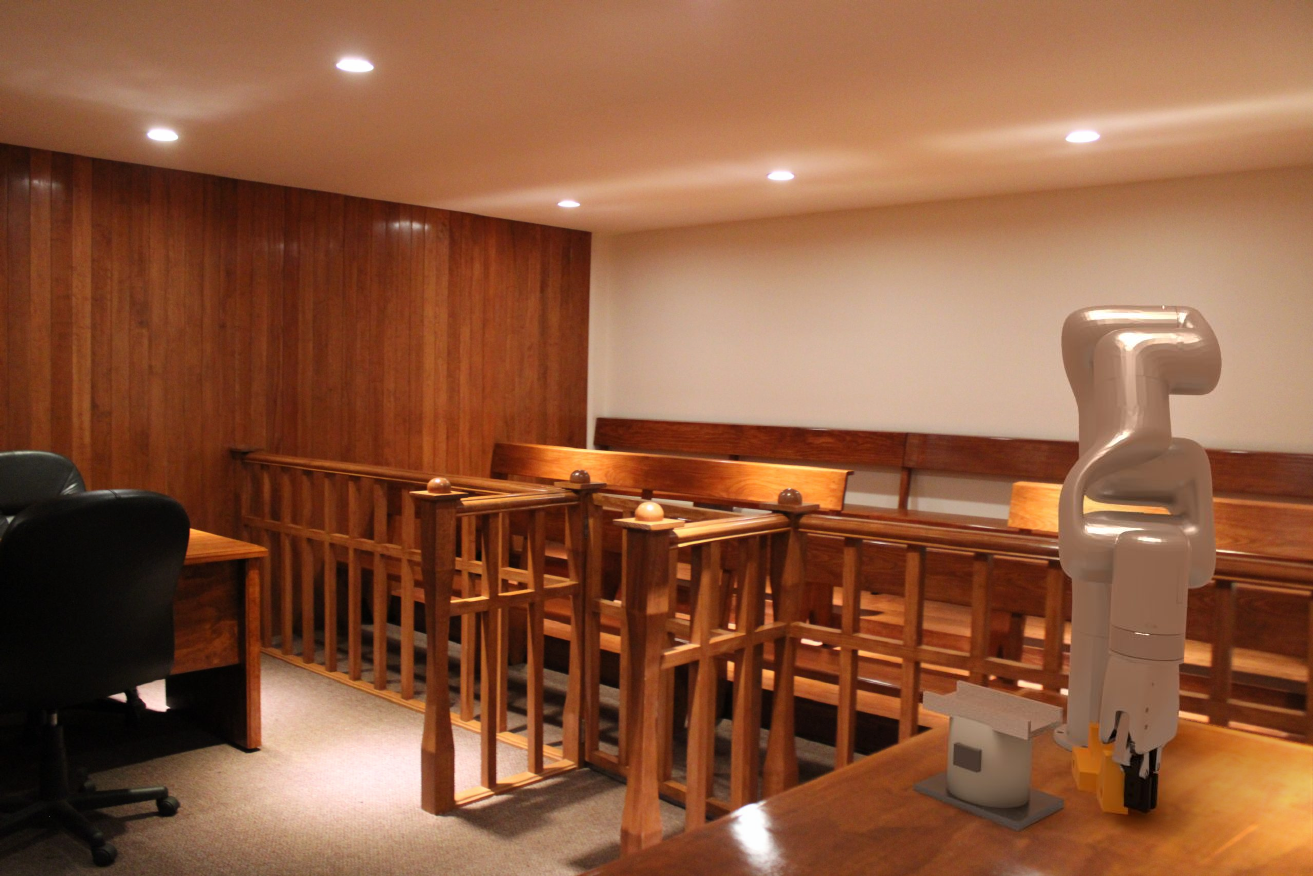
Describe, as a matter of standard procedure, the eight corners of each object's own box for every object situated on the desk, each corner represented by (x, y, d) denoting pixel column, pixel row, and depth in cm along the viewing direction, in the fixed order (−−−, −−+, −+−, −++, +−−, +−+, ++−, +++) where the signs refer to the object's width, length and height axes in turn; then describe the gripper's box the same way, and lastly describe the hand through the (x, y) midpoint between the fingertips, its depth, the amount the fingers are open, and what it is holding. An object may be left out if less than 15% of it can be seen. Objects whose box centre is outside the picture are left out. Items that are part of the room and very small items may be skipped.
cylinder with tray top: (961, 772, 124) (965, 678, 123) (1063, 807, 114) (1068, 706, 113) (913, 792, 117) (917, 693, 116) (1017, 831, 107) (1022, 723, 107)
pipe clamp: (1071, 772, 125) (1073, 720, 125) (1109, 776, 124) (1111, 724, 124) (1085, 810, 114) (1088, 754, 113) (1127, 815, 113) (1130, 758, 112)
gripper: (1141, 627, 120) (1133, 780, 121) (1080, 646, 109) (1071, 813, 110) (1210, 640, 114) (1200, 801, 115) (1151, 662, 104) (1141, 838, 105)
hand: (1137, 806), depth 113 cm, fingers closed
